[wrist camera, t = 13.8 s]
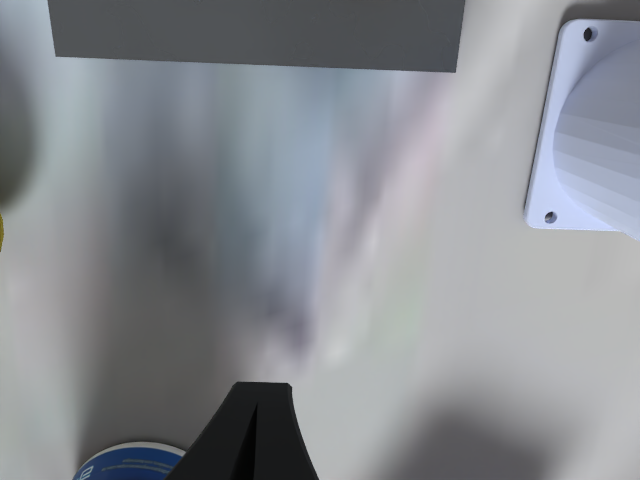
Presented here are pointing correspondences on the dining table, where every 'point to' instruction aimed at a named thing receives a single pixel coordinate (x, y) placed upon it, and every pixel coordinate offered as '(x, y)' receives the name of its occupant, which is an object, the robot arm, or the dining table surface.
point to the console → (264, 32)
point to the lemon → (1, 232)
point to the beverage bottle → (131, 462)
